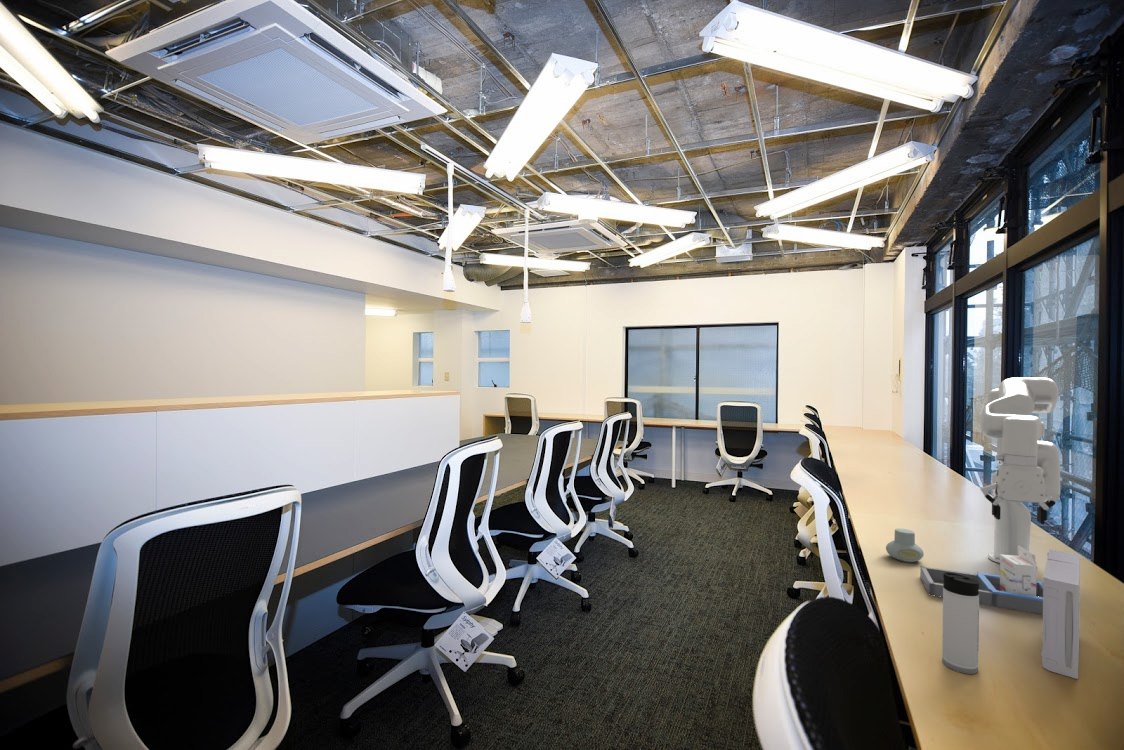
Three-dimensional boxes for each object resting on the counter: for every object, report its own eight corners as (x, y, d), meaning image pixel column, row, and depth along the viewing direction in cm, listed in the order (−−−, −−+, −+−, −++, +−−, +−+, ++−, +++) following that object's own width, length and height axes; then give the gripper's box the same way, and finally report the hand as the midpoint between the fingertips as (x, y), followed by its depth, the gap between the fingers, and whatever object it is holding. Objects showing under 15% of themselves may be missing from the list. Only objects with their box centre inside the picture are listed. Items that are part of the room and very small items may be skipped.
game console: (1040, 668, 112) (1041, 577, 112) (1046, 627, 131) (1047, 549, 131) (1078, 680, 108) (1079, 585, 108) (1079, 635, 127) (1080, 554, 127)
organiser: (920, 576, 164) (920, 563, 164) (1043, 595, 150) (1043, 581, 150) (929, 595, 150) (929, 581, 150) (1066, 618, 136) (1066, 602, 136)
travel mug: (933, 659, 116) (934, 570, 116) (960, 658, 116) (961, 569, 116) (957, 675, 109) (958, 581, 109) (986, 674, 110) (987, 580, 110)
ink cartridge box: (998, 593, 152) (998, 543, 152) (1018, 595, 150) (1018, 545, 150) (1015, 606, 143) (1016, 553, 143) (1037, 608, 142) (1037, 554, 142)
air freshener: (918, 557, 182) (918, 528, 182) (927, 565, 174) (927, 535, 174) (882, 553, 185) (883, 526, 185) (890, 561, 177) (890, 532, 177)
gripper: (984, 460, 147) (984, 520, 148) (1065, 465, 140) (1064, 528, 140) (977, 456, 154) (976, 513, 154) (1054, 461, 146) (1053, 521, 147)
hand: (1018, 520), depth 147 cm, fingers open, 9 cm apart
